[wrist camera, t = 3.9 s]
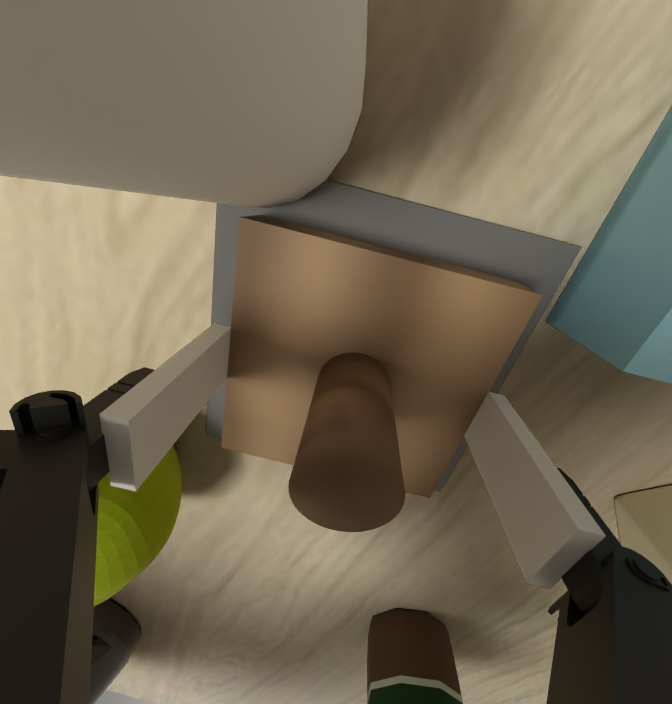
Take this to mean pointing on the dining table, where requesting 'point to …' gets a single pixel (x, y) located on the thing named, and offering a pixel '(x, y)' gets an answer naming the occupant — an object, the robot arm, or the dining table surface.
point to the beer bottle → (410, 660)
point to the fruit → (134, 525)
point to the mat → (403, 235)
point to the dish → (629, 273)
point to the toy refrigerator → (648, 525)
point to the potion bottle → (181, 94)
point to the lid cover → (359, 365)
